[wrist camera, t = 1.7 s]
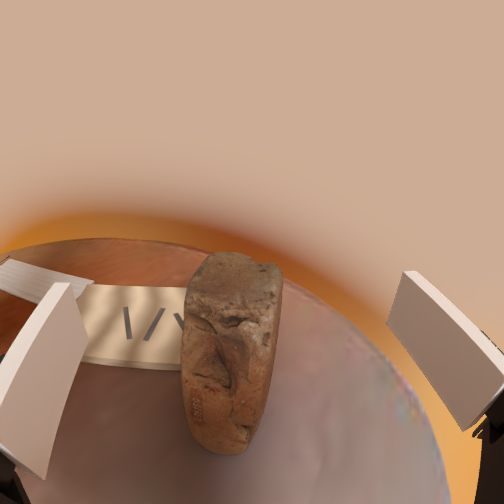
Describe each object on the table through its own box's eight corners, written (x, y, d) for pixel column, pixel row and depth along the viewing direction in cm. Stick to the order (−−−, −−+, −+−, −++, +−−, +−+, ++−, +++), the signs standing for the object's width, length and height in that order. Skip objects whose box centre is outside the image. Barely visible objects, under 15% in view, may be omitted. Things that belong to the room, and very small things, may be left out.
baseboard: (62, 322, 40) (95, 287, 51) (57, 309, 39) (93, 274, 50) (-19, 286, 43) (11, 263, 53) (-23, 276, 41) (8, 253, 52)
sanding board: (54, 357, 33) (50, 350, 32) (88, 290, 48) (87, 284, 48) (239, 370, 37) (240, 363, 36) (231, 295, 52) (231, 288, 52)
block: (211, 380, 35) (210, 240, 26) (268, 393, 33) (294, 253, 24) (183, 449, 25) (152, 313, 16) (251, 465, 24) (279, 341, 15)
